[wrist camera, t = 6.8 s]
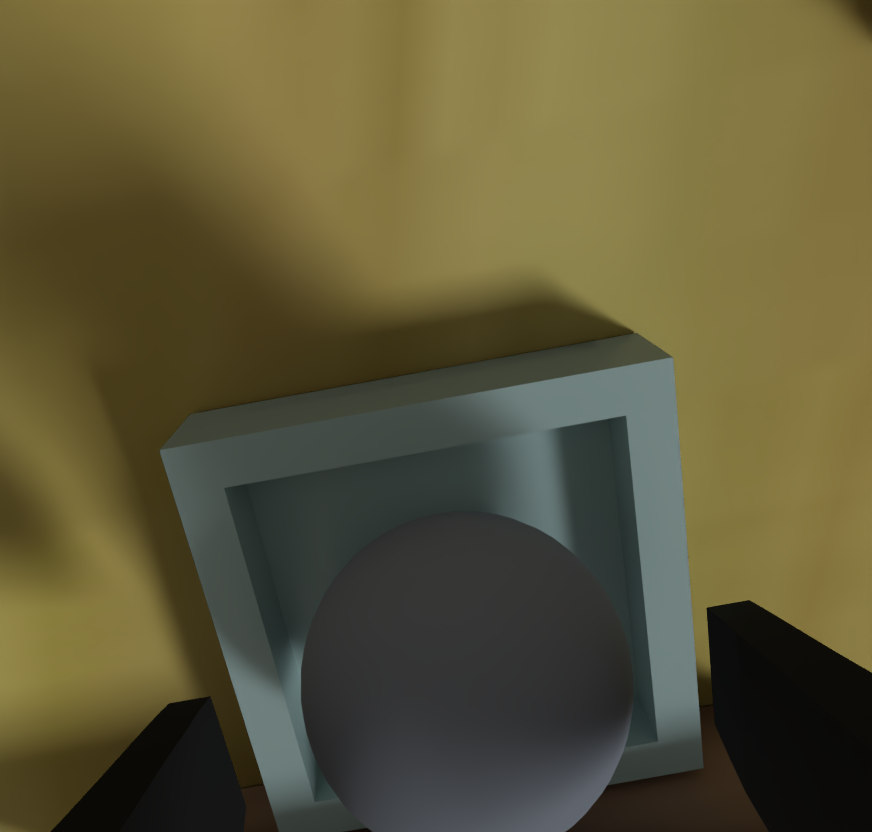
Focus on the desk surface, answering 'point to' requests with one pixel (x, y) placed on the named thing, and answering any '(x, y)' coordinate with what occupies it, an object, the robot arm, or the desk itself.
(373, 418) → the dish
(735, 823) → the rail
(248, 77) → the desk surface
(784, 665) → the robot arm
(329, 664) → the ball
